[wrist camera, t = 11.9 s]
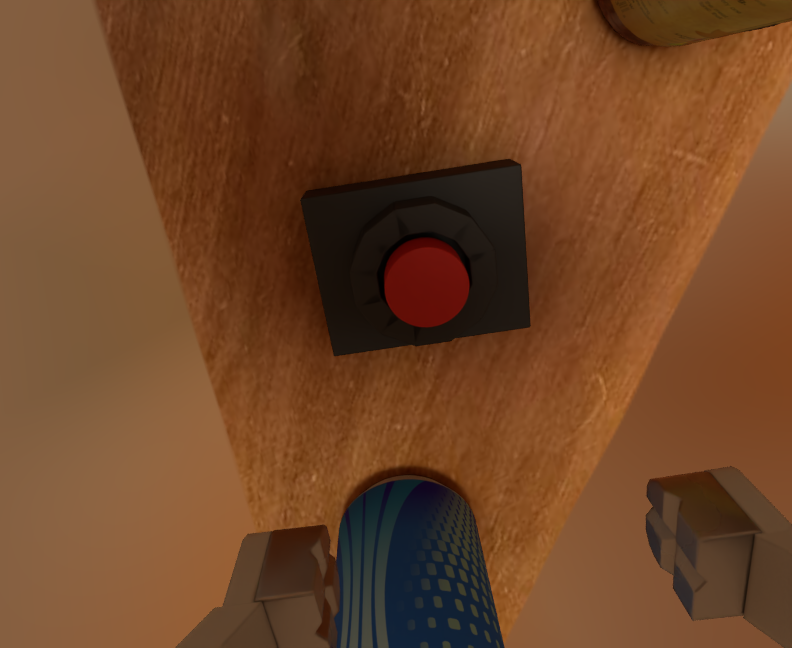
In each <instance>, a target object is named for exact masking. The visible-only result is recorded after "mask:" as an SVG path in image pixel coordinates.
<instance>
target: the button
mask: <svg viewBox="0 0 792 648" xmlns="http://www.w3.org/2000/svg"><path fill="white" fill-rule="evenodd" d="M384 288H385V296H386V300H387V303H388V305H389V307H390V309H391V310H392V311H393V313H394V314H395V315H396V316H397V317H398V318H400V319H401V320H402V321H404V322H406V323H408V324H410V325H414V326H418V327H434V326H438V325H441V324H444V323H446V322H448V321H449V320H451V319H452V318H454V317H455V316H456V315H457V314H458V313H459V312H460V311H461V309H462V308H463V306H464V305H465V303H466V300H467V298H468V294H469V277H468V274H467V271H466V269H465V267H464V265H463V263H462V261H461V259H460V257H459V255H458V254H457V252H456V251H455V250H454V249H453V248H452V247H451V246H450V245H449V244H447V243H445V242H444V241H441V240H439V239H436V238H430V237H420V238H415V239H412V240H409V241H407V242H405V243H403V244H402V245H400V246H399V247H398V248H397V249H395V251H394V252H393V253H392V254H391V256H390V257H389V259H388V261H387V264H386V267H385V271H384Z"/></svg>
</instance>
